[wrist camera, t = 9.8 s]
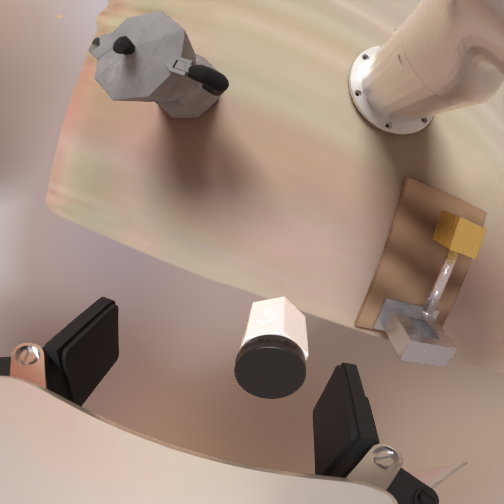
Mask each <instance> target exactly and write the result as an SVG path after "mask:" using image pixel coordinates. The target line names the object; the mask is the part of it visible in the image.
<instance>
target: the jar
mask: <svg viewBox="0 0 504 504" xmlns="http://www.w3.org/2000/svg"><path fill="white" fill-rule="evenodd" d="M307 357H308V342H307V330H306V320H305V316H304V315H303V314H302V313H301V312H300V311H299V310H298V309H297V308H296V307H295V306H294V305H293V304H292V303H291V302H290V301H289V300H288V299H287V298H286V297H279V298H274V299H269V300H263V301H258V302H254V303H253V305H252V307H251V311H250V314H249V317H248V320H247V324H246V327H245V330H244V334H243V339H242V343H241V346H240V350H239V353H238V355H237V358H236V361H235V362H236V364H235V369H234V372H235V377H236V380H237V382H238V383H239V385H240V386H241V387H242V388H243V389H244V390H246V391H247V392H248V393H250V394H252V395H255V396H257V397H261V398H267V399H276V398H282V397H285V396H288V395H290V394H292V393H294V392H295V391H297V390H298V389H299V388H300V387H301V386H302V384H303V383H304V380H305V377H306V364H305V363H306V362H305V361H306V359H307Z"/></svg>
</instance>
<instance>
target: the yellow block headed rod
mask: <svg viewBox="0 0 504 504" xmlns="http://www.w3.org/2000/svg"><path fill="white" fill-rule="evenodd" d="M485 231H486V229H485V228H483V227H481V226H479V225H477V224H475V223H472V222H470V221H468V220H466V219H464V218H461V217H459V216H457V215H454V214H452V213H449V212H446V211H444V210H441V213H440V217H439V220H438V223H437V226H436V229H435V232H434V235H433V238H432V239H434V240H435V241H437V242H439V243H440V244H442V245H443V246H445V247H447V248H448V250H447V253H446V255H445V258H444V261H443V263H442V266H441V269H440V271H439V274H438V276H437V279H436V281H435V283H434V286H433V288H432V290H431V293H430V295H429V297H428V299H427V302H426V304H425V306H424V308H423V311H422V313H423V315H424V316H425V317H427V318H428V317H431V316H432V315H433V313H434V310H435V308H436V306H437V304H438V302H439V300H440V298H441V295H442V293H443V291H444V288H445V286H446V284H447V281H448V279H449V277H450V274H451V272H452V269H453V266H454V264H455V261H456V259H457V256H458V253H461V254H463V255H466V256H468V257H471V258H473V259H476V258H477V255H478V252H479V249H480V246H481V243H482V240H483V237H484V234H485Z"/></svg>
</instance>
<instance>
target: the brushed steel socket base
mask: <svg viewBox="0 0 504 504" xmlns="http://www.w3.org/2000/svg"><path fill="white" fill-rule="evenodd" d="M423 308H424V306H422V305H418V304H414V303H410V302H406V301H402V300H398V299H394V298H390V297H386V296H385V299H384V301H383V303H382V306H381V308H380V310H379V313H378V315H377V317H376V319H375V321H374V323H373V326H372V327H373V328H374V329H379V330H384V331H386V333H387V335H388V337H389V339H390V341H391V343H392V345H393V347H394V349H395V351H396V354H397V356H398V358H399V360H400V361H405V362H412V363H419V364H426V365H434V366H443V367H447V365H448V363H449V362H450V360H451V358H452V357H453V355H454V353H455V352H456V350H457V347H456V346H455V345H454V343H453V342H452V341H451V339H450V338H449V337H448V335H447V334H446V333H445V332H444V330H443V329H442V328H441V326H440V325H439V324H438V323H437V321H436V318H437V315H438V313H439V310H438V309H435V310H434V313H433V315H432V316H431V317H428V318H427V317H425V316H424V315H423V313H422V311H423Z"/></svg>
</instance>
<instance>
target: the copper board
mask: <svg viewBox="0 0 504 504" xmlns="http://www.w3.org/2000/svg"><path fill="white" fill-rule="evenodd" d="M441 210H444V211H446V212H449V213H452V214H454V215H457V216H459V217H461V218H464V219H466V220H468V221H470V222H472V223H475V224H477V225H479V226H481V227H483V224H484V221H485V218H486V214H487V213H486V212H484V211H483V210H481V209H479V208H477V207H475V206H473V205H471V204H469V203H467V202H464V201H462V200H460V199H458V198H456V197H454V196H452V195H450V194H447V193H445V192H443V191H441V190H438V189H436V188H434V187H432V186H429V185H427V184H425V183H422V182H420V181H417V180H415V179H412V178H410V177H406V179H405V182H404V186H403V190H402V193H401V197H400V200H399V204H398V207H397V210H396V214H395V217H394V220H393V223H392V226H391V229H390V232H389V235H388V238H387V241H386V244H385V247H384V250H383V253H382V256H381V258H380V261H379V264H378V267H377V269H376V272H375V275H374V277H373V280H372V282H371V285H370V287H369V290H368V292H367V295H366V297H365V300H364V302H363V305H362V307H361V309H360V312H359V314H358V316H357V319H356V321H355V324H356V326H359V327H364V328H369V329H373V330H378V331H383V332H386V331H384V330H379V329H374V328H373V327H372V326H373V323H374V321H375V319H376V317H377V315H378V313H379V310H380V308H381V306H382V303H383V301H384V299H385V296H386V297H390V298H394V299H398V300H402V301H406V302H410V303H414V304H418V305H422V306H425V304H426V302H427V299H428V297H429V295H430V293H431V290H432V288H433V286H434V283H435V281H436V279H437V276H438V274H439V271H440V269H441V266H442V263H443V261H444V258H445V255H446V253H447V250H448V248H447V247H445V246H443V245H442V244H440V243H439V242H437V241H435V240H434V239H432V238H433V235H434V232H435V229H436V226H437V223H438V220H439V217H440V213H441ZM471 260H472V258H471V257H468V256H466V255H463V254H461V253H458V256H457V259H456V261H455V264H454V266H453V269H452V272H451V274H450V277H449V279H448V281H447V284H446V286H445V288H444V291H443V293H442V295H441V298H440V300H439V302H438V304H437V306H436V308H435V309H438V310H439V313H438V315H437V318H436V321H437V323H438V324H439V325H440V326H441V327H442V325H443V323H444V322H445V320H446V317H447V315H448V313H449V311H450V309H451V307H452V305H453V303H454V301H455V298H456V296H457V294H458V292H459V289H460V287H461V285H462V282H463V280H464V278H465V275H466V273H467V270H468V268H469V265H470V262H471Z"/></svg>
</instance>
